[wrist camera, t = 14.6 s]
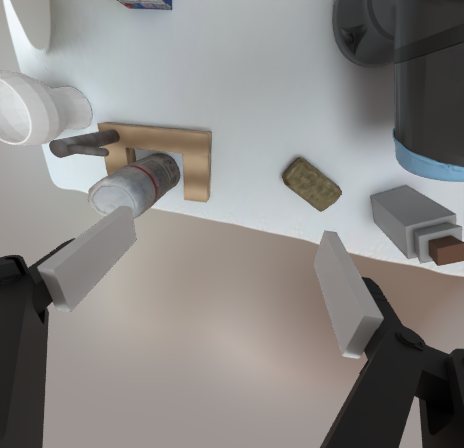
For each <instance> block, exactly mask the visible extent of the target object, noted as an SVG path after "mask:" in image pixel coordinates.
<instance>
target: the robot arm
mask: <svg viewBox="0 0 464 448" xmlns="http://www.w3.org/2000/svg"><path fill="white" fill-rule="evenodd" d="M333 30H334V36H335V39H336V42H337V45H338V47H339V49H340V50H341V52H342V53H343V54H344V56H345V57H346V58H348V59H349V60H350V61H352V62H353V63H355V64H357V65H360V66H365V67H377V66H382V65H386V64H389V63H392V62H394V103H395V127H394V129H393V138H394V142H395V152H396V158H397V160H398V162H399V164H400V165H401V166H402V167H403V168H404V169H405V170H407V171H409V172H411V173H413V174H415V175H418V176H421V177H425V178H429V179H434V180H441V181H452V182H464V0H336V1H335V5H334V12H333ZM136 240H137V239H136V232H135V226H134V220H133V214H132V207H129V206H119V207H118V208H117V209H115V210H114V211H113V212H111V213H110V214H109V215H107V216H106V217H104V218H103V219H102V220H100V221H99V222H98V223H97V224H95V225H94V226H92V227H91V228H90V229H88V230H87V231H85V232H84V233H83V234H81V235H80V236H79V237H77V238H76V239H75V238H74V239H71V240H69V241H67V242H64V243H63V244H61V245H60V246H58V247H57V248H56V249H54V250H53V251H51V252H50V254H48V255H46V256H44V257H43V258H42V259H40V260H39V261H37V262H36V263H35V264H33V265H32V266H30V267H29V268H28V267H27V265H26V263H25V261H24V259H23V257H21V256H19V255H9V256H4V257H1V258H0V448H42V445H43V444H42V443H43V424H44V423H43V422H44V402H45V401H44V400H45V381H46V359H47V338H48V317H49V312H48V309H47V306H48V305H49V304H50V303H51V302H53V303H54V305H55V307H56V310H60V311H67V312H72V310H73V309H74V308H75V307H76V306H77V305H78V304H79V303H80V301H81V300H82V299H83V298H84V297H85V296H86V295H87V294H88V293H89V292H90V291H91V289H92V288H93V287H94V286H95V285H96V284H97V283H98V282H99V281H100V280H101V278H102V277H103V276H104V275H105V274H106V273H107V272H108V271H109V270H110V269H111V267H113V265H114V264H115V263H116V262H117V261H118V260H119V259H120V258H121V257H122V256H123V254H124V253H125V252H126V251H127V250H128V249H129V248H130V247H131V246H132V245H133V243H134V242H135V241H136ZM314 267H315V270H316V273H317V277H318V280H319V283H320V286H321V290H322V293H323V296H324V299H325V303H326V306H327V309H328V312H329V316H330V318H331V322H332V325H333V329H334V332H335V335H336V338H337V341H338V345H339V348H340V351H341V354H342V356H345V357H351V358H357V359H359V358H360V357H361V355H362V353H363V352H365V354H366V356H367V359H368V361H367V362H366V364H365V365H364V367H363V369H362V370H361V372H360V373H359V374H360V375H359V377H358V379H357V380H356V382H355V384H354V386H353V388H352V390H351V391H350V393H349V395H348V397H347V399H346V401H345V402H344V404H343V406H342V408H341V410H340V412H339V413H338V415H337V417H336V419H335V421H334V423H333V425H332V427H331V428H330V430H329V432H328V434H327V436H326V438H325V439H324V441H323V443H322V445H321V447H320V448H399V444H400V441H401V438H402V435H403V431H404V428H405V425H406V421H407V418H408V415H409V412H410V408H411V405H412V402H413V398H414V396H416V397H418V398H419V406H420V419H421V431H422V446H423V448H464V349H455V350H453V351H452V352H451V353H450V354H447V353H444V352H442V351H439V350H436V349H434V348H432V347H429V346H427V345H426V344H425V342H424V340H423V339H422V338H421V337H420V336H419V335H418V334H416V333H415V332H414V331H412V330H411V329H409V328H406V327H405V326H403V325H402V323H401V321H400V320H399V318H398V317H397V315H396V313H395V312H394V310H393V309H392V307H391V305H390V304H389V302H387V299H386V297H385V296H384V295H383V293H382V291H381V289H380V288H379V286H378V285H377V284H376V283H375V282H373V281H372V280H371V279H370V278H364V277H361V276H360V274H359V272H358V271H357V269H356V267H355V265H354V264H353V262H352V260H351V258H350V256H349V254H348V252H347V251H346V249H345V247H344V245H343V243H342V242H341V240H340V238H339V236H338V234H337V233H336V232H331V231H324V233H323V236H322V239H321V242H320V245H319V248H318V252H317V255H316V258H315V261H314Z"/></svg>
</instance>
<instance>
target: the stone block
mask: <svg viewBox="0 0 464 448" xmlns="http://www.w3.org/2000/svg"><path fill="white" fill-rule="evenodd" d="M282 179H283V181H284V184H285V185H286V186H288V187H289V188H290V189H291V190H293V191H294V192H295V193H297V194H298V195H299V196H301V197H302V198H303V199H305V200H306V201H307V202H308V203H309V204H311V205H312V206H313V207H314V208H316V209H317V210H319V211H321V212H322V211H324V210H325V209H327V208H328V207H329V206H331V205H332V204H334V203H335V202H336V201H337V200H338V198H339V197H340V195H342V191H341V190H340V187H339V186H337V185H336V184H335V183H333V182H332V181H331V180H330V179H328V178H327V177H326V176H324V175H323V174H322V173H321V172H320V171H319V170H318V169H317V168H315V167H314V166H312V165H311V164H310V163H308V162H307V161H306V160H304V159H302V158H298V159H297V160H296V161H295V162H294V163H293V164H292V165H291V166H290V167H289V168H288V169H287V170H286V172H285V173H284V174H283V176H282Z"/></svg>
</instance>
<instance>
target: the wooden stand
mask: <svg viewBox="0 0 464 448" xmlns="http://www.w3.org/2000/svg"><path fill="white" fill-rule="evenodd" d="M98 129H99V132H96V133H90V134H85V135H80V136H74V137H69V138H64V139H59V140H53V141H51V142H50V144H49V147H50V150H51V152H52V153H53V154H54V155H55V156H57V157H59V158H62V157H66V156H69V155H73V154H85V155H94V156H104V159H105V164H106V169H107V174H108V175H110V174H111V173H113V172H114V171H116V170H117V169H119V168H122V167H124V166H126V165H129V164H131V163H134V162H136V157H135V150H134V148H136V149H145V150H155V151H164V152H174V153H183V174H184V200H190V201H198V202H207V201H208V199H209V197H210V176H211V140H212V132H205V131H195V130H185V129H174V128H164V127H153V126H143V125H133V124H122V123H112V122H105V123H98ZM101 146H102V148H99V147H101Z"/></svg>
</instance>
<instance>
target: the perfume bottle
mask: <svg viewBox="0 0 464 448" xmlns="http://www.w3.org/2000/svg"><path fill="white" fill-rule="evenodd" d="M370 197H371V203H372V210H373V217H374V222H375V223H376V225H377V226H378V227H379V228H380V229H381V230H382V231H383V232H384V233H385V234H386V235H387V237H388V238H389V239H390V240H391V241H392V242H393V243H394V244H395V245H396V246H397V248H398V249H399V250H400V251H401V252H402V253H403V254H404V255H405V256H406V257H407V258H408V259H411V258H416V257H418V259H419V261H420V263H426V262H431V261H434V262H435V263H436V264H437V266H440V265H445V264H450V263H455V262H460V261H464V242H462V226H459V225H456V214H455V213H453V212H452V211H450V210H448V209H447V208H445V207H443V206H441V205H440V204H438V203H436V202H435V201H433V200H431V199H430V198H428V197H426V196H424V195H423V194H421V193H419V192H418V191H416V190H414V189H413V188H411V187H409V186H407V185H405V186H401V187H398V188H395V189H391V190H388V191H384V192H381V193H377V194H374V195H371V196H370Z"/></svg>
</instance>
